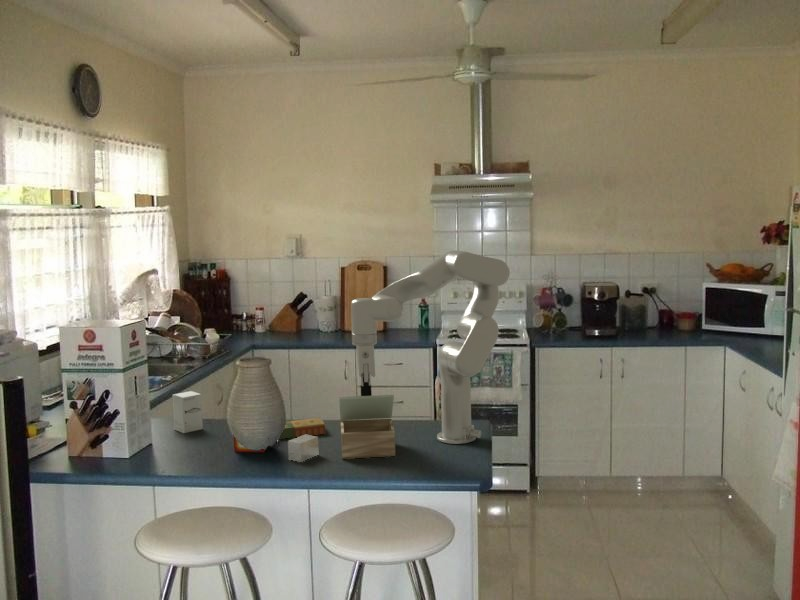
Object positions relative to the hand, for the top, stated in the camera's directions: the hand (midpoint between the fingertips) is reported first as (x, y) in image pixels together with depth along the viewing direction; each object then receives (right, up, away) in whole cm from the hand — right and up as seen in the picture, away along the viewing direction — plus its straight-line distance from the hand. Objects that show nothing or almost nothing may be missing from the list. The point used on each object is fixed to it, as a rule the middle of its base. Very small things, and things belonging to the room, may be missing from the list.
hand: (366, 398), depth 240 cm
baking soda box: (-36, -17, +8) cm, 41 cm away
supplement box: (-63, -15, +31) cm, 72 cm away
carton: (-23, -16, +23) cm, 36 cm away
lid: (0, -4, +3) cm, 5 cm away
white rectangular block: (-19, -18, -2) cm, 26 cm away
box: (0, -17, +3) cm, 17 cm away
